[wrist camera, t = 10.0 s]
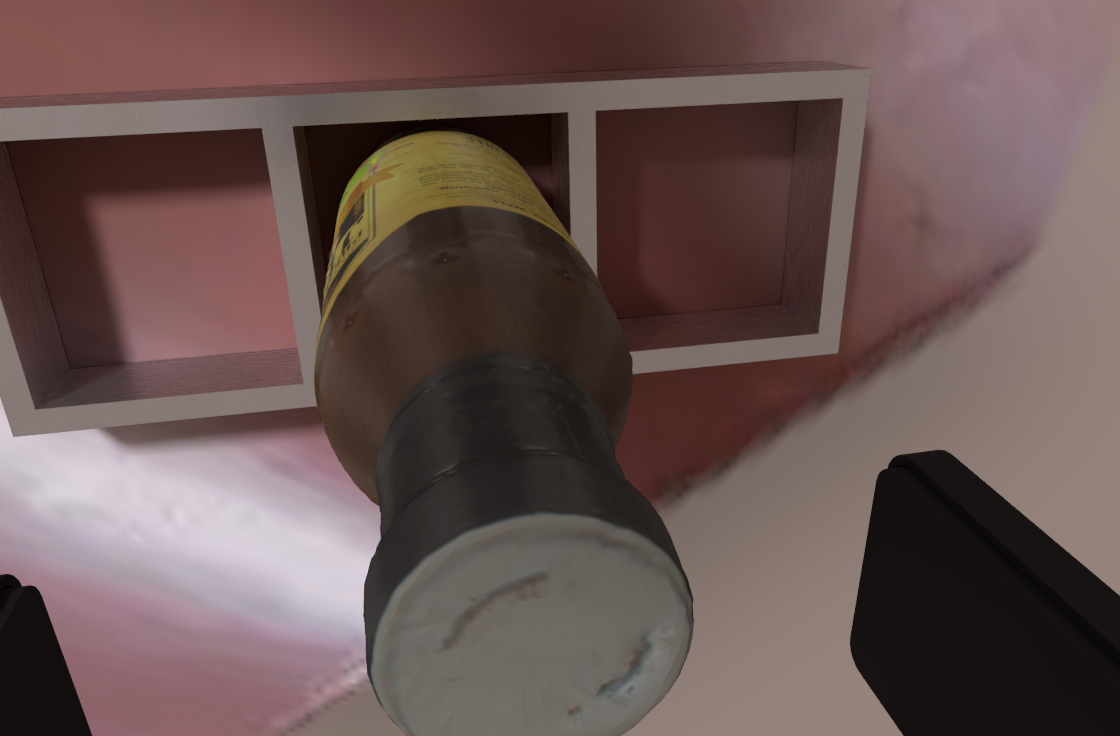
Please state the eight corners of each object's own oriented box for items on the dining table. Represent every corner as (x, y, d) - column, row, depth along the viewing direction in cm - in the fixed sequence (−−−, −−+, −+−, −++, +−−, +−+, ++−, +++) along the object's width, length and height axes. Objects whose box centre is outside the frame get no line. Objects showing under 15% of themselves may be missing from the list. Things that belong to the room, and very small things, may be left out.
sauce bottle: (322, 133, 26) (180, 437, 8) (523, 108, 27) (798, 336, 9) (362, 327, 29) (319, 878, 11) (543, 299, 30) (786, 770, 12)
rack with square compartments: (-39, 99, 24) (-93, 112, 21) (824, 61, 28) (871, 68, 25) (49, 393, 28) (13, 436, 25) (799, 322, 32) (838, 353, 29)
